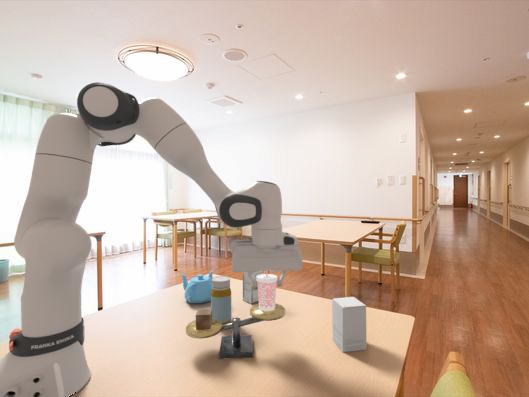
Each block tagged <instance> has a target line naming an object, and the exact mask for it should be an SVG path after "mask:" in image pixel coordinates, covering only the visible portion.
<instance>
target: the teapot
mask: <svg viewBox="0 0 529 397" xmlns="http://www.w3.org/2000/svg"><path fill="white" fill-rule="evenodd" d="M213 273H214V269H211V270H210V271H209V273H208V276H205V275H204V274H197V275H196V276H195V277H191V279H190V280H189V282H188V278H187V275H186V274H183V273H180V276H182V279H183V280H182V287H183V289H184V298H185V299H186V301H187V302H188V303H192V304H204V303H209V302H211V291H212V279H213V278H214V277H213Z"/></svg>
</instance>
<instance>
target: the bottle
mask: <svg viewBox="0 0 529 397" xmlns="http://www.w3.org/2000/svg"><path fill="white" fill-rule="evenodd" d="M212 278H213V279H212V291H211V301H210V309H212V318H214V319H218V320H220V321H221V322H222V325H225V324H229V323H231V322H232V319H233V318H232V317H233V316H232V312H233V310H232V289H231V278H230V277H229V276H225V275H222V276H220V275H219V276H215V277H212Z"/></svg>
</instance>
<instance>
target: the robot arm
mask: <svg viewBox="0 0 529 397" xmlns="http://www.w3.org/2000/svg"><path fill="white" fill-rule="evenodd" d="M76 105H77V106H76V107H77V111H78V113H73V114H72V113H68V112H58V113H54V114H52V115H50V116H48V118H47V119H46V121H45V123H44V125H43V128H42V130H41V133H40V136H39V138H38V142H37V145H36V150H35V154H34V160H33V166H32V172H31V176H30V182H29V188H28V191H27V193H26V194H27V195H26V198H25V202H24V203H23V207H22V210H21V214H20V217H19V220H18V224H17V228H16V232H15V236H14V239H13V240H14V241H13V242H14V243H13V244H14V249H15V251H16V252H17V254H18V255H19V256H20V257H21V258H23V259H24V261H25V272H24V282H23V288H22V294H21V296H20V312H21V313H20V314H21V315H20V318H21V319H20V320H21V321H20V322H21V325H20V326H21V328H15V329H13V330H12V331H11V332H10V334H9V342H8V350H9V352H7V353H6V354H5V355H3V357H1V358H0V397H68V396H69V395H71V394H73V393H75V392H76V393H77V392H79V391H80V390H81V389H83V387H85V386H86V384H87V383H88V382H89V380H90V378H91V375H92V373H91V372H92V371H91V370H90V368H89V365H88V362H87V359H86V358H87V357H86V353H85V348H84V343H85V336H86V331H85V330H86V329H85V320H84V318H83V317H82V315H83V314H82V286H83V285H82V284H83V279H84V272H85V269H86V264H87V263H86V262H87V260H88V257H89V256H90V253H91V252H92V247H93V246H92V239H91V236H90V235H89V233H88V232H87V231H86V229H84V228H83V226H81V225H80V224H78V223H77V218H78V216H79V214H80V211H81V208H82V205H83V203H84V202H85V200H86V199H87V196H88V193H89V187H90V181H91V180H90V179H91V173H92V168H93V167H92V166H93V160H94V154H95V151H96V150H95V149H96V148H97V146H99V147H110V146H121V145H125V144H128V143H131V142H132V141H133V140H134V138H135V137H136V135H137V136H139V137H141V138H143V139H144V141H146V142H147V143H148V144H149V145H150V146H151V147H152V148H153V149H154V151H155V152H156V153H157V154H158V155H159V157H161V158H162V160H164V161H165V162H167V163H168V164H169V165H171V167H173V168H174V169H176V170H177V171H179V172H181V173H182V174H184V175H185V176H187V177H189V178H190V179H191V180H192V181H193V182H195V183H196V184H197V186H199V188H200V189H201V190H202V191H203V192H204V193H205V195H206V196H207V197H208V198H209V199H210V200H211V202H212V203H213V205H214V206H215V212H216V214H217V217H218V218H219V220H220V221H221V222H223V223H224V225H226V226H228V227H230V228H233V229H240V228H243V227H246V226H251V228H250V230H251V231H250V232H251V234H250V235H251V237H247V238H235V239H234V240H232V241H231V242H230V245H229V246H230V247H229V250H230V251H229V252H230V253H231V254H232V257H231V270H232V272H233V273H243V272H248V277H249V278H250V280H251V286H252V287H257V280H256V279H253V277H252V275H253V272H254V271H262V272H266V271H268V272H280V277H279V278H277V281H276V287H283V282H284V279H285V277H286V276H287V271H288V272H289V271H300V270H302V268H303V255H302V250H301V248H300V247H299V246H298V245H299V239H298V237H297V236H296V235H294V234H292V233H289V232H285V231H283V225H282V215H283V204H282V202H283V200H282V193H281V189H280V187H279V185H277V184H276V183H274V182H271V181H266V180H265V181H262V180H255V181H253V182H252V183H251V184H250V185H248V186H246V187H244V188H242V189H240V190H238V191H233V190H232V189H230V188H229V187H228V186H227V185H226V184H225V183H224V181H223V180H222V179H221V178H220V177H219V175H218V174H217V173H216V172H215V171H214V170H213V168H212V167H211V165H210V164H209V162H208V158H207V156H206V153H205V150H204V146H203V144H202V143H201V140H200V139H199V137H198V136H197V134H196V133H195V131H194V130H193V129H192V128H191V126H190V125H189V124H188V123H187V122H186V120H185V119H184V118H183V117H182V116H181V115H180V114H179V113H178V112H177V111H176V110H175V109H174V108H173V107H171V105H169V104H167V102H165V101H164V100H162V99H161V98H159V97H148V98H146V99H143V100H142V101H140V102H139V101H138V99H137V97H136V96H135V95H133V94H131V93H129V92H126V91H124V90H122V89H119V88H118V87H116V86H114V85H112V84H109V83H105V82H102V81H101V82H98V81H97V82H96V81H95V82H92V83H89V84H86V85H85V86H84V87H83V88H81V89H80V91H79V93H78V95H77V100H76ZM76 393H75V394H76ZM73 395H74V394H73Z"/></svg>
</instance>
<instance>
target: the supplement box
mask: <svg viewBox="0 0 529 397" xmlns="http://www.w3.org/2000/svg"><path fill="white" fill-rule="evenodd" d="M331 316H332V340H333V342H334V343H335V344H336V346H338V348H339V349H340V350H341V351H342V352H343V353H345V352H346V353H348V352H355V351H356V352H358V351H366V350H367V305H366V304H364V303H363V302H362V301H360V300H359V299H357V298H356V296H346V297H337V298H334V297H333V298H332V315H331Z"/></svg>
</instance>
